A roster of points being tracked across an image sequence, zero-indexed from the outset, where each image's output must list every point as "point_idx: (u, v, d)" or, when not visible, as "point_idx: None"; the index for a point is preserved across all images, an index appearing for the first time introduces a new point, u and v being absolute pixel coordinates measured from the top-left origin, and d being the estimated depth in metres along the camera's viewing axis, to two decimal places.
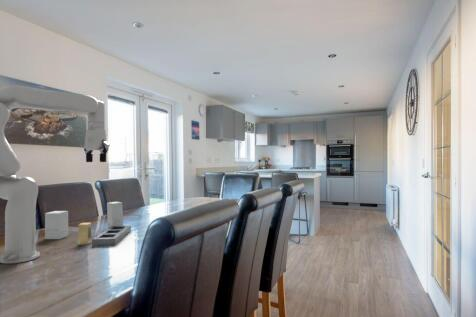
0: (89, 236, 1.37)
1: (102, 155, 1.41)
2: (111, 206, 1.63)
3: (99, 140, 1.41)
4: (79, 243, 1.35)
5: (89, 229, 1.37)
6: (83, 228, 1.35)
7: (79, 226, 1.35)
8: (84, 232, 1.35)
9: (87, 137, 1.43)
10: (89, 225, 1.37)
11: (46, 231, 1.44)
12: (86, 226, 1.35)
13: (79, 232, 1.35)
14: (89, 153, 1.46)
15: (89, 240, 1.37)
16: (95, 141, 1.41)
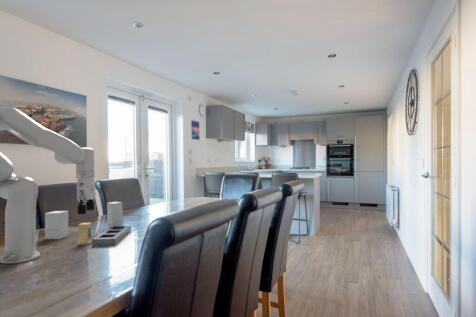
0: (89, 236, 1.37)
1: None
2: (111, 206, 1.63)
3: None
4: (79, 243, 1.35)
5: (89, 229, 1.37)
6: (83, 228, 1.35)
7: (79, 226, 1.35)
8: (84, 232, 1.35)
9: (89, 186, 1.35)
10: (89, 225, 1.37)
11: (46, 231, 1.44)
12: (86, 226, 1.35)
13: (79, 232, 1.35)
14: None
15: (89, 240, 1.37)
16: (94, 190, 1.41)
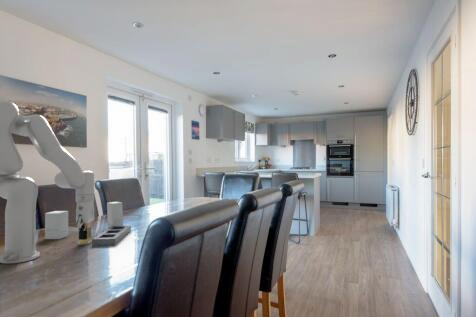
0: (89, 236, 1.37)
1: None
2: (111, 206, 1.63)
3: None
4: (79, 243, 1.35)
5: (89, 229, 1.37)
6: None
7: None
8: None
9: (89, 210, 1.35)
10: (89, 225, 1.37)
11: (46, 231, 1.44)
12: (86, 226, 1.35)
13: None
14: None
15: (89, 240, 1.37)
16: (93, 213, 1.40)
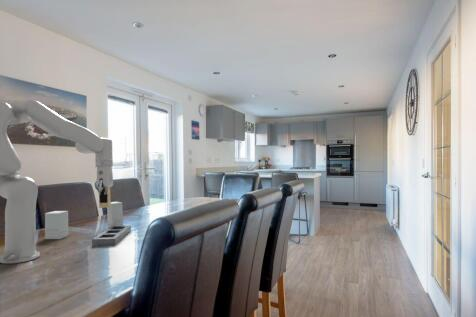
0: (109, 200, 1.44)
1: None
2: (111, 206, 1.63)
3: None
4: (100, 206, 1.42)
5: (109, 193, 1.44)
6: None
7: None
8: None
9: (108, 175, 1.41)
10: (109, 189, 1.44)
11: (46, 231, 1.44)
12: (106, 190, 1.42)
13: None
14: None
15: (109, 203, 1.44)
16: (112, 178, 1.47)
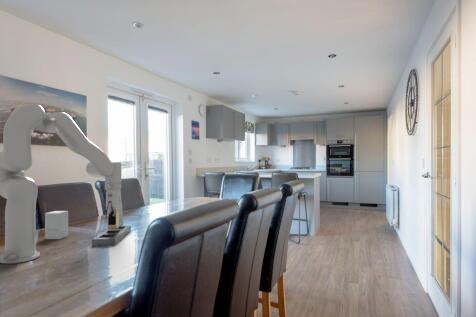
0: (117, 222, 1.47)
1: None
2: None
3: None
4: (108, 228, 1.44)
5: (117, 215, 1.47)
6: None
7: None
8: None
9: (117, 197, 1.44)
10: (117, 211, 1.47)
11: (46, 231, 1.44)
12: (115, 212, 1.45)
13: None
14: None
15: (117, 225, 1.46)
16: (120, 200, 1.50)
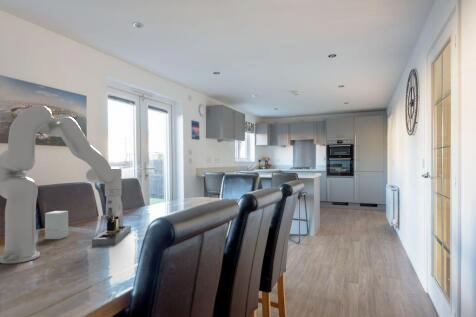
0: (117, 231, 1.46)
1: None
2: None
3: None
4: None
5: (117, 225, 1.46)
6: None
7: None
8: None
9: (117, 204, 1.44)
10: (117, 221, 1.46)
11: (46, 231, 1.44)
12: (114, 222, 1.44)
13: None
14: None
15: None
16: (120, 207, 1.50)
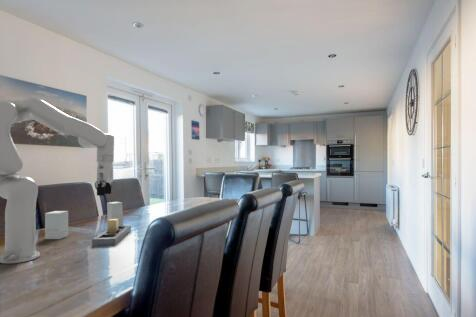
0: (117, 231, 1.46)
1: None
2: (111, 206, 1.63)
3: None
4: None
5: (117, 225, 1.46)
6: (112, 224, 1.44)
7: (108, 222, 1.44)
8: (113, 227, 1.44)
9: (109, 170, 1.43)
10: (117, 221, 1.46)
11: (46, 231, 1.44)
12: (114, 222, 1.44)
13: (108, 227, 1.44)
14: None
15: None
16: (112, 174, 1.49)
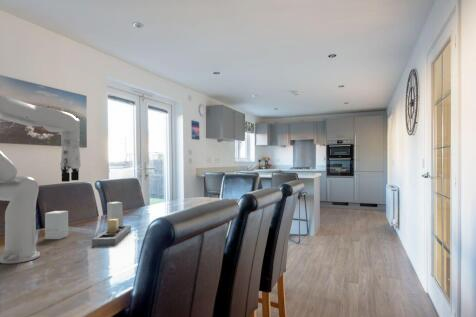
0: (117, 231, 1.46)
1: None
2: (111, 206, 1.63)
3: None
4: None
5: (117, 225, 1.46)
6: (112, 224, 1.44)
7: (108, 222, 1.44)
8: (113, 227, 1.44)
9: (74, 155, 1.38)
10: (117, 221, 1.46)
11: (46, 231, 1.44)
12: (114, 222, 1.45)
13: (108, 227, 1.44)
14: None
15: None
16: (79, 160, 1.44)
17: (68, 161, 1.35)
